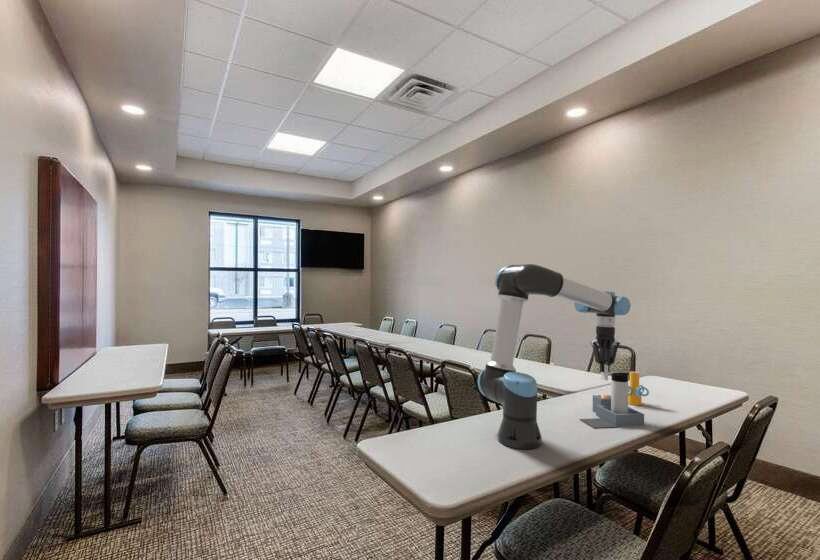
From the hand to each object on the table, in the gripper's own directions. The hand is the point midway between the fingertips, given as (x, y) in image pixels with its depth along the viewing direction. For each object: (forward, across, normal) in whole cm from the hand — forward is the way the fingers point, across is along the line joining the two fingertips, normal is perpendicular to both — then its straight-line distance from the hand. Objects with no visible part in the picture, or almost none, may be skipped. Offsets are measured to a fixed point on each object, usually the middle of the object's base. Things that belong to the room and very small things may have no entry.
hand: (604, 379), depth 176 cm
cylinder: (+15, +24, +12) cm, 30 cm away
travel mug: (+15, +1, -10) cm, 18 cm away
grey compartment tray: (+15, +1, -6) cm, 16 cm away
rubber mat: (+15, -11, -12) cm, 22 cm away
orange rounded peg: (+14, +1, 0) cm, 14 cm away
